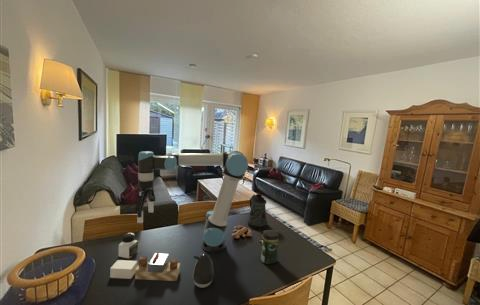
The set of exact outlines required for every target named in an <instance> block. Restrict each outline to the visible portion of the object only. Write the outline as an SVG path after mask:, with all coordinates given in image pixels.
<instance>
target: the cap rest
mask: <svg viewBox="0 0 480 305" xmlns="http://www.w3.org/2000/svg"><path fill="white" fill-rule="evenodd" d="M137 267H138V260H124V259H117V260H116V261H115V263H113V265H112V266H111V267H110V270H109V271H110V273H109V274H110V275H109V278H110V279H128V280H131V279H132V278H133V277H134V276H135V269H136V268H137Z"/></svg>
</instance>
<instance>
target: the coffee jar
mask: <svg viewBox="0 0 480 305" xmlns="http://www.w3.org/2000/svg"><path fill="white" fill-rule="evenodd" d="M261 237H262V247H261V251H260V252H261V253H260V260H261V262H262V263H263V264H265V265H272V264H273V265H274V264H276V263H277V262H278V242H279V241H280V240H279V239H280V233H279V232H278V230H276V229H267V230H265V229H264V230H262V235H261Z"/></svg>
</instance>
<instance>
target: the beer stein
mask: <svg viewBox="0 0 480 305" xmlns="http://www.w3.org/2000/svg"><path fill="white" fill-rule="evenodd" d="M248 204H249V207H250V211H249V214H248V217H247V221H246V223H247V226H248V227H249V228H251V229H253V230H265V229H266V228H267V225H268V220H267V212H266V211H267V210H266V205H267V200H266V199H265V198H264V197H263V196H262V194H259V193H256V194H253V195H252V196H251V197H250V198H249V202H248Z"/></svg>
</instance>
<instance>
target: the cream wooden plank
mask: <svg viewBox="0 0 480 305" xmlns="http://www.w3.org/2000/svg"><path fill="white" fill-rule="evenodd" d="M149 262H150V261H148V256H140V257H139V258H138V264H137V268H136V269H135V274H134V277H135V278H134V280H148V281H150V280H151V281H166V282H167V281H169V282H177V281H178V278H179V276H180V272H181V263H180V262H178V259H176V258H173V259H171V260H169V262H168V263H167V265H166V267H165V269H164V271H163V273H158V272H148V264H149Z"/></svg>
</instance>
